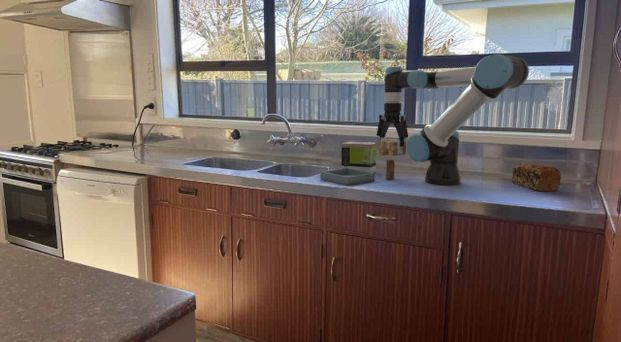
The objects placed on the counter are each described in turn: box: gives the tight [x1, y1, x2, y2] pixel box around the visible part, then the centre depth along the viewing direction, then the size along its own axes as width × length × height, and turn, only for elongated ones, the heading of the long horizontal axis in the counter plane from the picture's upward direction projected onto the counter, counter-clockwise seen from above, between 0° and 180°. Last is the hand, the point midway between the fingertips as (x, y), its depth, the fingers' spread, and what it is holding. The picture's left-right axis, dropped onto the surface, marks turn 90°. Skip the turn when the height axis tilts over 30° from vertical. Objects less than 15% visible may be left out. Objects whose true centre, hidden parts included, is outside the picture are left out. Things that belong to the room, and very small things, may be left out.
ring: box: [376, 138, 407, 157], centre depth 203 cm, size 9×12×6 cm
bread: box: [511, 162, 562, 192], centre depth 189 cm, size 19×11×10 cm, turn 7°
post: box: [385, 159, 395, 181], centre depth 205 cm, size 2×3×9 cm
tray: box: [320, 168, 376, 187], centre depth 202 cm, size 18×17×4 cm
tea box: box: [340, 141, 377, 173], centre depth 221 cm, size 15×10×15 cm
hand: (391, 152), depth 204 cm, fingers closed on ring, 9 cm apart
